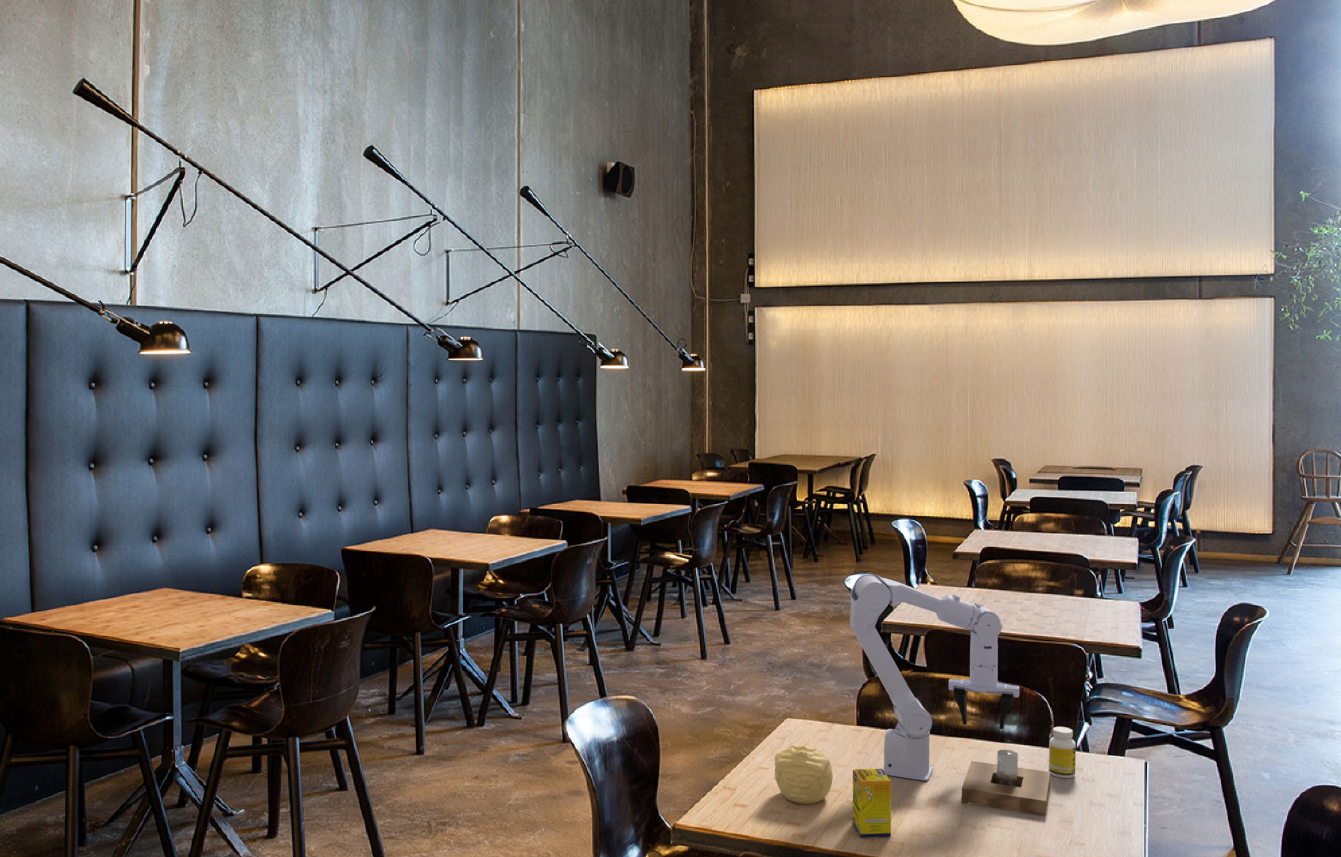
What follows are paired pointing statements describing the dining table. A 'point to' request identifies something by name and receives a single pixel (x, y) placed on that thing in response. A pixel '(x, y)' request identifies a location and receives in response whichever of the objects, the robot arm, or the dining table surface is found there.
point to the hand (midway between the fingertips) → (983, 725)
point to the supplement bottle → (1062, 753)
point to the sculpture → (803, 774)
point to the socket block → (1007, 789)
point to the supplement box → (871, 803)
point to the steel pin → (1007, 767)
